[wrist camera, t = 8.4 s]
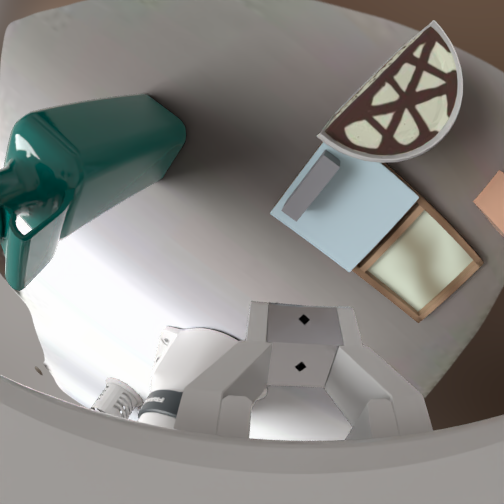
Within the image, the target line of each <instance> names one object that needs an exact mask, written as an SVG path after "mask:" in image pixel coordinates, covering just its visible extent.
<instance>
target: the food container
mask: <svg viewBox="0 0 504 504" xmlns="http://www.w3.org/2000/svg"><path fill="white" fill-rule="evenodd" d="M462 98H463V77H462V70H461V66H460V62H459V59H458V56H457V53H456V51H455V49H454V47H453V45H452V43H451V41H450V40H449V38H448V37H447V35H446V34H445V32H444V31H443V29H442V28H441V27H440V26H439V25H438V24H437V23H436V21H434V20H433V21H432V22H431V23H430V24H429V25H428V26H427V27H425V28H424V29H423V30H422V31H420V32H419V33H418V34H417V35H415V36H414V37H413V38H412V39H411V40H409V41H408V42H407V43H406V44H404V45H403V46H402V47H401V48H400V49H399V50H397V51H396V52H395V53H394V54H393V55H392V56H391V57H390V58H389V59H388V60H387V61H386V62H385V63H384V64H383V65H382V66H381V67H380V68H379V69H378V70H377V71H376V72H375V73H374V74H373V75H372V76H371V77H370V78H369V79H368V80H367V81H366V82H365V83H364V84H363V85H362V86H361V87H360V88H359V89H358V90H357V91H356V92H355V93H354V94H353V95H352V96H351V97H350V98H349V99H348V100H347V101H346V102H345V103H344V104H343V105H342V106H341V107H340V108H339V110H338V111H337V112H336V113H335V114H334V115H333V116H332V117H331V119H330V120H329V121H328V123H327V124H326V126H325V127H324V128H323V130H322V131H321V133H320V134H318V135H317V136H316V137H318V138H319V139H320V140H321V141H323V142H324V143H325V144H327V145H328V146H330V147H332V148H333V149H335V150H337V151H338V152H340V153H343V154H345V155H348V156H350V157H352V158H356V159H360V160H364V161H370V162H378V163H385V162H399V161H404V160H409V159H411V158H414V157H417V156H420V155H422V154H423V153H425V152H427V151H429V150H431V149H432V148H433V147H434V146H436V145H437V144H438V143H439V142H441V141H442V139H443V138H444V137H445V136H446V135H447V134H448V133H449V131H450V130H451V128H452V126H453V125H454V123H455V121H456V119H457V116H458V114H459V111H460V108H461V103H462Z"/></svg>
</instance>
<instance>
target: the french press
mask: <svg viewBox="0 0 504 504" xmlns="http://www.w3.org/2000/svg"><path fill="white" fill-rule="evenodd" d="M104 390H105V392H104ZM104 390H103V392H102V393H101V394H102V396H101V395H100V396H99V397H98V398H99V400H98V399H97V400H96V401H95V403H94V404H93V406H92V407H91V409H93V410H95V408H97V410H99V411H100V412H103V413H107V414H110V415H114V416H118V417H122V418H126V419H128V417H129V415H130V414H131V413H132V411H133V410H134V408H135V407H139V406H141V405H142V404H143V403H142V399H141V397H140V396H139V394H138V393H137V392H136V391H135V390H134V389H133V388H131V387H130V386H129V385H127V384H126V383H124V382H122V381H120V380H118V379H115V378H112V377H110V378H107V379H106V388H105V389H104ZM123 406H125V410H124V409H123ZM121 410H122V412H123V413H122V414H121V413H120V411H121Z"/></svg>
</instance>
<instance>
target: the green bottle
mask: <svg viewBox="0 0 504 504" xmlns="http://www.w3.org/2000/svg"><path fill="white" fill-rule="evenodd" d="M185 140H186V129H185V126H184V124H183V122H182V121H181V120H180V119H179V118H178V117H176V116H175V115H174V114H172V113H171V112H170V111H168V110H167V109H166V108H164V107H163V106H162V105H160V104H159V103H158V102H156V101H155V100H154V99H152V98H151V97H150V96H148V95H146V94H132V95H123V96H115V97H107V98H100V99H93V100H87V101H81V102H75V103H69V104H64V105H59V106H54V107H49V108H45V109H40V110H36V111H32V112H30V113H28V114H26V115H25V116H23V117H21V118H20V119H19V120H18V121H17V122H16V124H15V125H14V127H13V129H12V131H11V134H10V139H9V143H8V148H7V153H6V158H5V163H4V168H3V169H0V243H1V245H2V248H3V251H4V254H5V258H6V261H5V276H6V279H7V282H8V283H9V285H10V286H11V287H12V288H13V289H15V290H18V291H20V290H22V289H24V288H25V287H26V286H27V285H28V284H29V283H30V282H31V281H32V280H33V278H34V277H35V276H36V275H37V274H38V273H39V272H40V271H41V270H42V269H43V268H44V267H45V266H46V265H47V264H48V263H49V262H50V260H51V259H52V258H53V256H54V254H55V252H56V249H57V246H58V242H59V241H60V240H63V239H65V238H67V237H68V236H70V235H71V234H73V233H74V232H76V231H77V230H79V229H80V228H82V227H83V226H85V225H86V224H88V223H89V222H91V221H92V220H94V219H95V218H97V217H99V216H100V215H102V214H103V213H105V212H107V211H108V210H110V209H111V208H113V207H115V206H116V205H118V204H120V203H121V202H123V201H125V200H126V199H128V198H130V197H131V196H133V195H135V194H137V193H138V192H140V191H142V190H143V189H145V188H147V187H149V186H150V185H152V184H154V183H156V182H157V181H159V180H161V179H162V178H163V176H164V175H165V173H166V171H167V170H168V168H169V167H170V165H171V163H172V162H173V160H174V159H175V157H176V156H177V154H178V152H179V151H180V149H181V148H182V146H183V145H184V143H185ZM18 216H21V218H22V219H23V220H24V221H25V222H26V223H27V224H28V226H29V227H30V228H31V229H32V230H31V231H30V232H29V233H27V234H26V235H23V234H22V233H21V232H20V231H19V230H18V229H17V227H16V219H17V217H18Z"/></svg>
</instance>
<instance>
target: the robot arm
mask: <svg viewBox="0 0 504 504" xmlns="http://www.w3.org/2000/svg"><path fill="white" fill-rule="evenodd" d="M151 377H152V378H151V383H150V394H149V396H148V397H147V399H146V400H145V401H144V403H143V404H142V406H141V410H140V412H139V414H138V418H139V419H138V421H134V420H130V419H126V418H122V417H118V416H114V415H110V414H107V413H103V412H99V411H96V410H93V409H89V408H86V407H83V406H79V405H76V404H73V403H70V402H67V401H64V400H62V399H59V398H56V397H53V396H50V395H48V394H45V393H42V392H39V391H37V390H35V389H32V388H30V387H27V386H25V385H22V384H20V383H18V382H15V381H13V380H11V379H9V378H6V377H4V376H2V375H0V504H504V415H500V416H497V417H493V418H490V419H486V420H482V421H478V422H474V423H470V424H465V425H461V426H456V427H451V428H446V429H440V430H435V431H433V429H432V425H431V422H430V418H429V415H428V411H427V408H426V405H425V402H424V398H423V395H422V394H421V393H420V392H419V391H418V390H417V389H416V388H415V387H413V386H412V385H411V384H410V383H409V382H408V381H407V380H406V379H404V378H403V377H402V376H401V375H400V374H399V373H398V372H397V371H395V370H394V369H393V368H392V367H391V366H390V365H389V364H388V363H387V362H385V361H384V360H383V359H382V358H381V357H380V356H379V355H378V354H376V353H375V352H374V351H373V350H372V349H371V348H370V347H369V346H363V343H362V339H361V335H360V331H359V327H358V324H357V320H356V316H355V313H354V309H353V308H352V307H322V306H303V305H292V304H280V303H269V304H268V303H267V302H256V301H251V303H250V307H249V315H248V323H247V331H246V339H245V341H243V340H240V341H238V340H236V339H234V338H232V337H231V336H229V335H226V334H224V333H221V332H218V331H215V330H211V329H205V328H192V329H178V328H174V327H164V328H163V330H162V332H161V335H160V339H159V343H158V347H157V351H156V355H155V360H154V364H153V368H152V372H151ZM267 385H272V386H302V387H324V389H325V390H326V392H327V393H328V394H329V396H330V397H331V398H332V400H333V401H334V403H335V404H336V405H337V407H338V408H339V409H340V411H341V412H342V413H343V415H344V416H345V417H346V419H347V420H348V421H349V423H350V424H351V425H352V427H353V428H352V430H351V431H350V433H349V434H348V436H347V438H346V439H345V440H337V441H285V440H264V439H250V438H249V432H250V420H251V410H252V407H253V405H254V403H255V401H257V400H260V399H263V398H264V397H265V396H266V394H267V388H266V387H267Z"/></svg>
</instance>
